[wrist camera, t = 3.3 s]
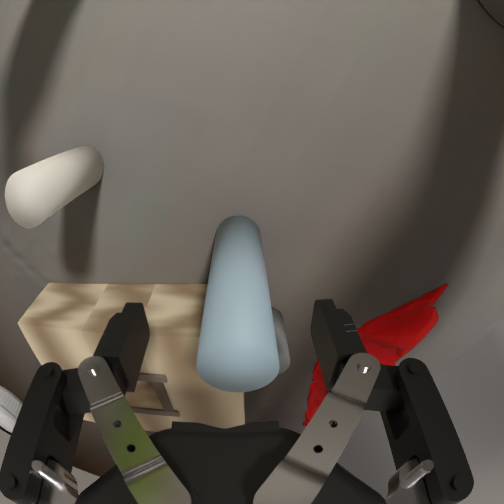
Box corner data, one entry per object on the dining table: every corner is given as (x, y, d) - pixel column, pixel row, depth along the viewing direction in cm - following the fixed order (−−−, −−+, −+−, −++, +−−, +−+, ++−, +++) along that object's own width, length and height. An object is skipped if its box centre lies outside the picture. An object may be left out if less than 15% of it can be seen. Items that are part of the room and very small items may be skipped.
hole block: (239, 283, 23) (240, 338, 18) (244, 388, 30) (245, 437, 24) (48, 282, 23) (16, 324, 17) (94, 379, 29) (79, 420, 24)
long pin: (260, 215, 21) (282, 339, 10) (260, 255, 22) (277, 390, 12) (214, 216, 21) (190, 340, 10) (217, 256, 22) (201, 392, 11)
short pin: (283, 305, 24) (292, 348, 20) (281, 333, 26) (288, 375, 22) (245, 306, 24) (246, 350, 20) (246, 334, 26) (247, 377, 21)
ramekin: (-3, 375, 31) (-15, 397, 27) (43, 416, 36) (34, 438, 31) (-18, 382, 33) (-28, 401, 29) (21, 418, 38) (13, 436, 33)
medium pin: (101, 142, 18) (39, 165, 11) (106, 185, 19) (51, 226, 12) (65, 149, 17) (0, 175, 11) (71, 189, 19) (12, 230, 12)
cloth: (426, 245, 23) (439, 258, 21) (468, 311, 28) (478, 323, 26) (240, 398, 32) (241, 414, 30) (315, 425, 36) (318, 438, 34)
